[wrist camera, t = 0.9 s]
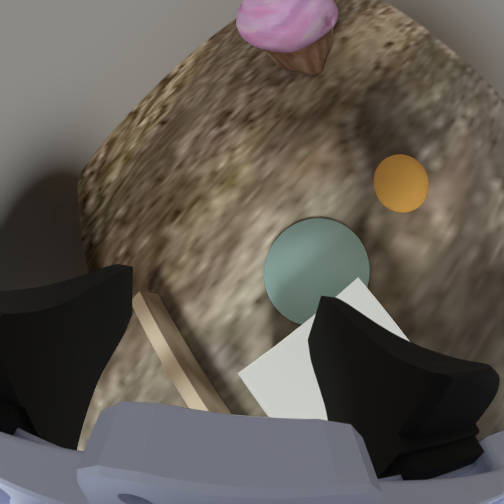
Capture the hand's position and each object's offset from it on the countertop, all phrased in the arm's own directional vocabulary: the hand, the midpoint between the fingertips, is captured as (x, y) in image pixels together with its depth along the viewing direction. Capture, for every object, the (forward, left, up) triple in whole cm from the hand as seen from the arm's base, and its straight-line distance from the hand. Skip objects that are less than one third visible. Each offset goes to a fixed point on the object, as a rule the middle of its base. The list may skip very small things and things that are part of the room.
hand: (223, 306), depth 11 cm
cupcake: (+18, -16, -12) cm, 27 cm away
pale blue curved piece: (+2, -2, -12) cm, 12 cm away
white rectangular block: (-4, 0, -12) cm, 13 cm away
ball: (+2, -11, -10) cm, 15 cm away
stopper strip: (+2, +11, -12) cm, 16 cm away
